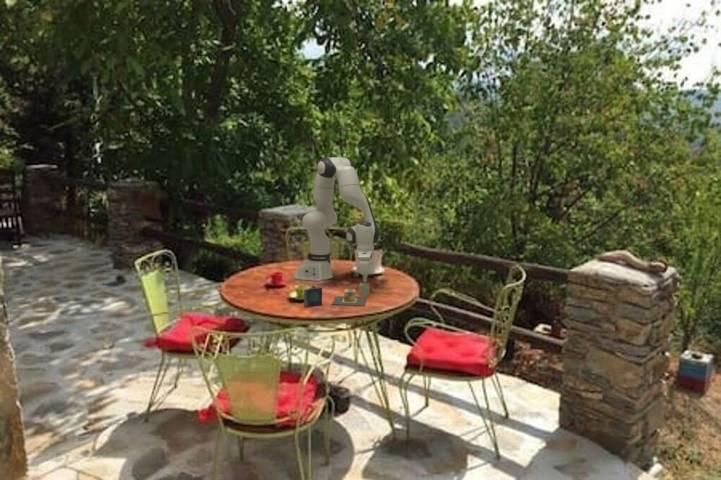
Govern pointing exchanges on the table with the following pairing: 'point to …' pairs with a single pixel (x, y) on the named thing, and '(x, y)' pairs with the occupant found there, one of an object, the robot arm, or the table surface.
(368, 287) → the sage cube
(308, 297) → the dark blue box
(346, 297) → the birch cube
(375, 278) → the table surface
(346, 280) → the table surface
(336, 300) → the mat
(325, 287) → the table surface
